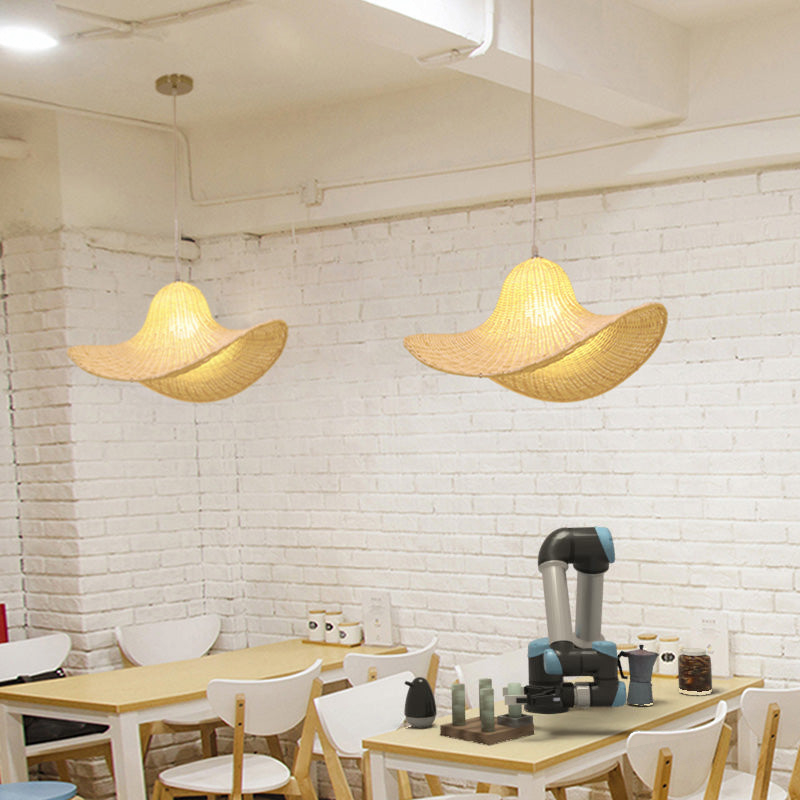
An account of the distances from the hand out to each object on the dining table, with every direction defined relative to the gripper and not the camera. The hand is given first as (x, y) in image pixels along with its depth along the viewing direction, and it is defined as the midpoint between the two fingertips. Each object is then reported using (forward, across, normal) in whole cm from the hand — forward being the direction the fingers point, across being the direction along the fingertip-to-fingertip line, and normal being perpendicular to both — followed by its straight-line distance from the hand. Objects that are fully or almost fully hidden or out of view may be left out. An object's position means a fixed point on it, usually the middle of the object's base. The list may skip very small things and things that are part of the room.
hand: (503, 695), depth 355 cm
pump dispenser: (+26, +14, -12) cm, 31 cm away
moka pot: (-47, +43, -12) cm, 65 cm away
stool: (+5, 0, -12) cm, 13 cm away
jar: (-70, +63, -12) cm, 95 cm away
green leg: (-3, 0, -8) cm, 9 cm away
